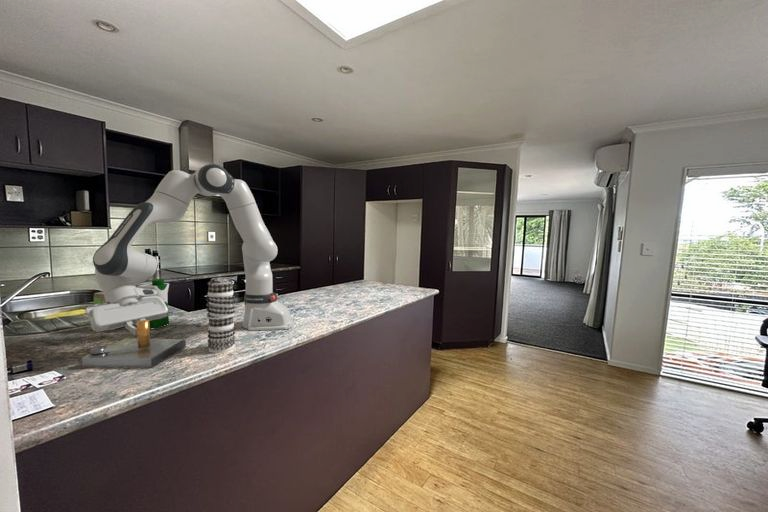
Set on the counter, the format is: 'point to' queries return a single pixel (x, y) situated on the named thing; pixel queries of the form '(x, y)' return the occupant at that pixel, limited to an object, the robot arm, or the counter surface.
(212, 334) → the decorative candle
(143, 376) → the counter surface
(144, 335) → the lever
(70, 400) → the counter surface
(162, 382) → the counter surface
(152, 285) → the milk carton
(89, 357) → the grey lever board
